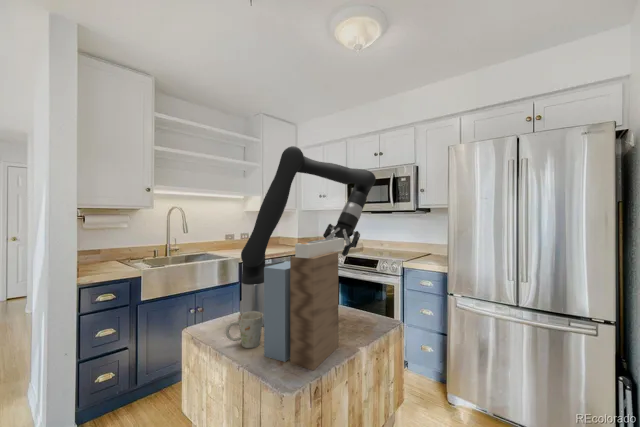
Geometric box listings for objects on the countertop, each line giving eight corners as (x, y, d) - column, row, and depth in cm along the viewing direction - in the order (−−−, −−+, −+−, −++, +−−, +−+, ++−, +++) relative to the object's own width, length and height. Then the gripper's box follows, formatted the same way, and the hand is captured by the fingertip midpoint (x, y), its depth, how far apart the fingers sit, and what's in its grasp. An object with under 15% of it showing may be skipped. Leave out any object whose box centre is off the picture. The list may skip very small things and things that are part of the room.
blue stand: (264, 356, 92) (264, 267, 93) (293, 336, 107) (293, 260, 108) (285, 362, 89) (284, 269, 89) (312, 340, 104) (312, 261, 104)
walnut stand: (290, 363, 88) (290, 256, 88) (317, 341, 103) (317, 250, 103) (313, 370, 84) (313, 258, 84) (338, 346, 99) (338, 252, 99)
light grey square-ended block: (295, 257, 87) (295, 242, 87) (333, 248, 110) (333, 237, 110) (308, 258, 85) (308, 243, 85) (344, 249, 108) (344, 237, 108)
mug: (264, 348, 98) (264, 318, 98) (224, 353, 95) (224, 322, 95) (261, 338, 106) (261, 310, 106) (225, 342, 103) (225, 313, 103)
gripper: (331, 208, 118) (315, 243, 114) (363, 215, 110) (346, 254, 106) (338, 216, 124) (323, 250, 120) (368, 223, 116) (353, 261, 112)
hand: (334, 252), depth 113 cm, fingers open, 8 cm apart
